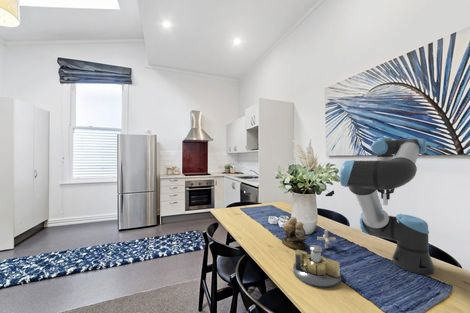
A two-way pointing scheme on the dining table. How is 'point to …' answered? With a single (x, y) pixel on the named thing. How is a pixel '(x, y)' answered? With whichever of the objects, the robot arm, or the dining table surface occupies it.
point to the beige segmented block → (319, 265)
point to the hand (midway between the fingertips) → (385, 204)
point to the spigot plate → (311, 278)
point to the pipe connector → (326, 239)
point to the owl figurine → (294, 234)
